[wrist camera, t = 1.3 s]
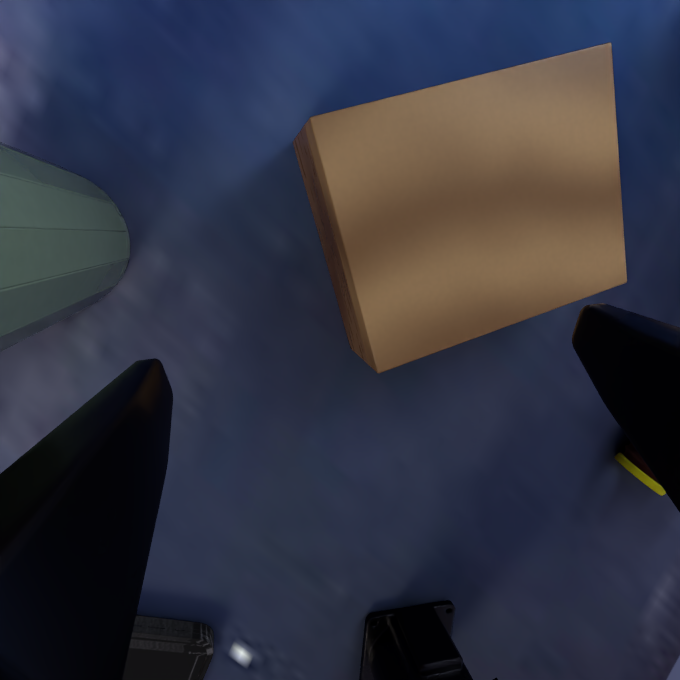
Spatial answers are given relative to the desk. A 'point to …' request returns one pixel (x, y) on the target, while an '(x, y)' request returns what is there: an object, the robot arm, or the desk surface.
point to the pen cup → (53, 244)
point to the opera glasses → (639, 468)
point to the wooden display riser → (468, 203)
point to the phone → (168, 650)
